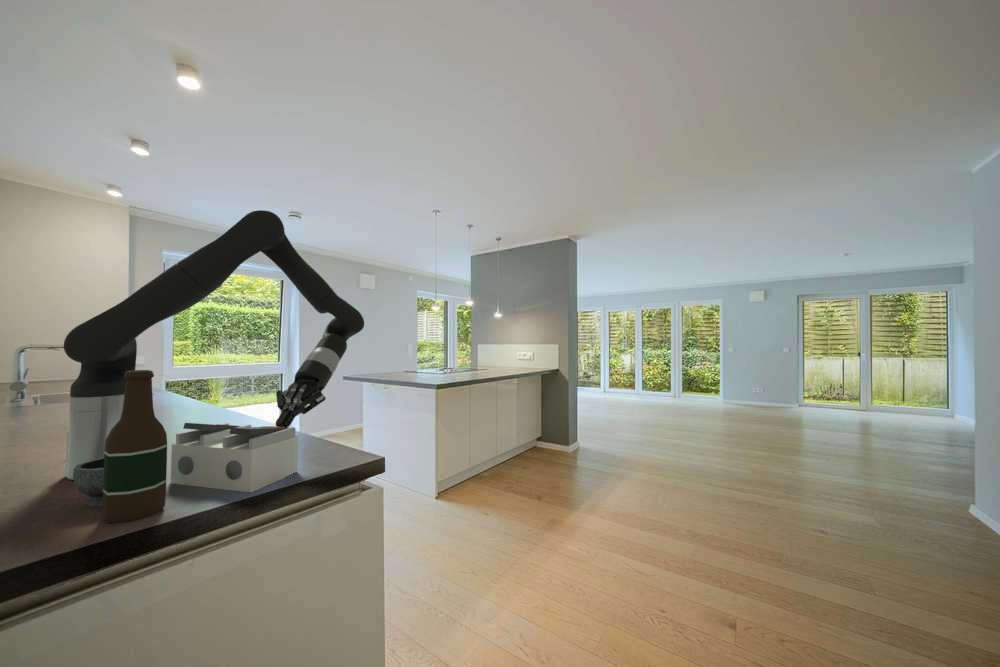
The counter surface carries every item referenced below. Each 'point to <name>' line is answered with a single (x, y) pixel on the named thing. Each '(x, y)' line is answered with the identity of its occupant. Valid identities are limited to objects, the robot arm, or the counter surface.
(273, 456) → the box
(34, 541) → the counter surface
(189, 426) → the bar
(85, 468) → the mortar and pestle
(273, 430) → the rocker
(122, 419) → the beer bottle
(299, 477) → the counter surface
